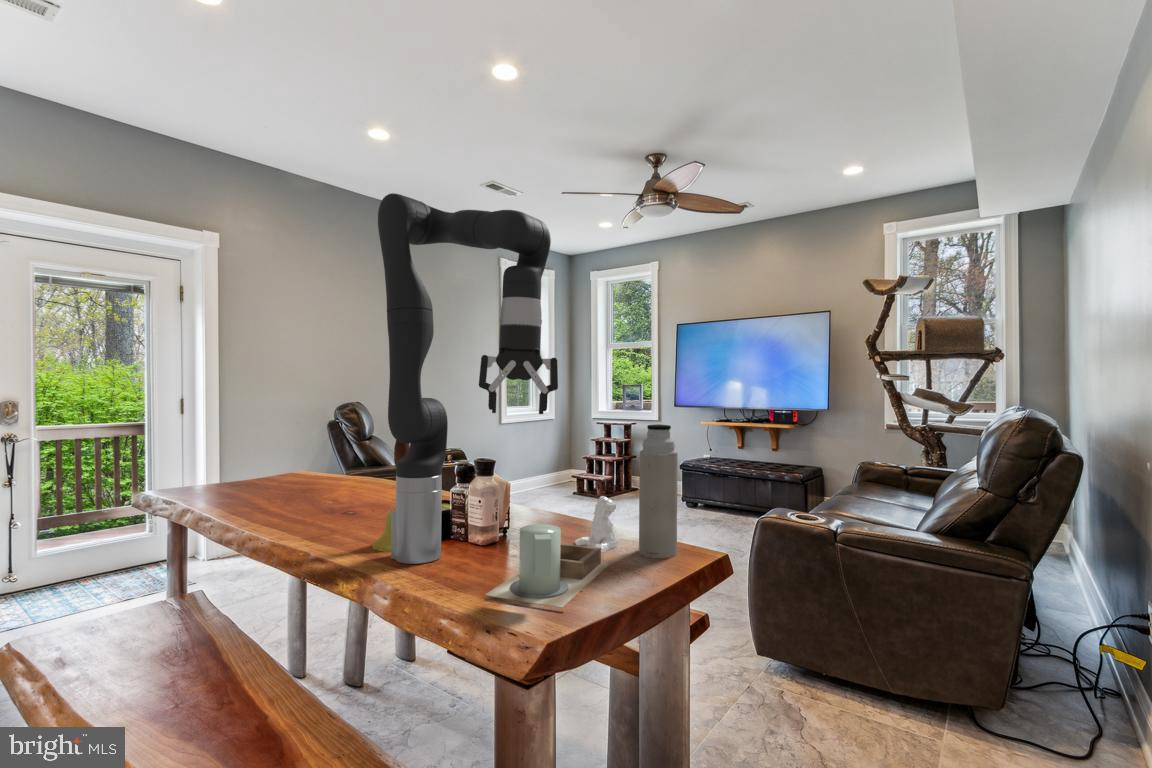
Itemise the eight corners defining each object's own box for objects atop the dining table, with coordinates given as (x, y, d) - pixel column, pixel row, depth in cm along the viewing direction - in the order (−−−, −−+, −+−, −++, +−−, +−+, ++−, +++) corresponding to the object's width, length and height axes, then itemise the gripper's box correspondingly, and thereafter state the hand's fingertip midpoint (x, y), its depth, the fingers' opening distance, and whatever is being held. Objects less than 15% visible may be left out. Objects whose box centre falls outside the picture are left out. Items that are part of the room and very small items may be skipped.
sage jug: (518, 581, 100) (518, 524, 100) (557, 580, 101) (558, 523, 101) (520, 602, 90) (521, 539, 90) (564, 600, 91) (565, 538, 91)
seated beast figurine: (572, 547, 126) (572, 494, 126) (604, 543, 130) (605, 491, 130) (594, 559, 118) (594, 501, 118) (628, 553, 122) (628, 498, 122)
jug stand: (484, 600, 94) (484, 576, 94) (544, 560, 116) (544, 541, 116) (561, 613, 89) (562, 588, 89) (609, 569, 111) (609, 548, 111)
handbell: (367, 553, 121) (369, 436, 121) (376, 538, 133) (377, 431, 133) (427, 550, 123) (428, 435, 123) (430, 536, 135) (431, 431, 135)
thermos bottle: (631, 557, 119) (632, 424, 119) (651, 549, 125) (652, 423, 125) (664, 565, 114) (665, 426, 114) (683, 556, 120) (684, 424, 120)
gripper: (557, 328, 108) (554, 413, 108) (481, 324, 106) (478, 411, 106) (561, 324, 100) (558, 415, 100) (480, 320, 98) (477, 413, 98)
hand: (517, 413), depth 103 cm, fingers open, 8 cm apart
